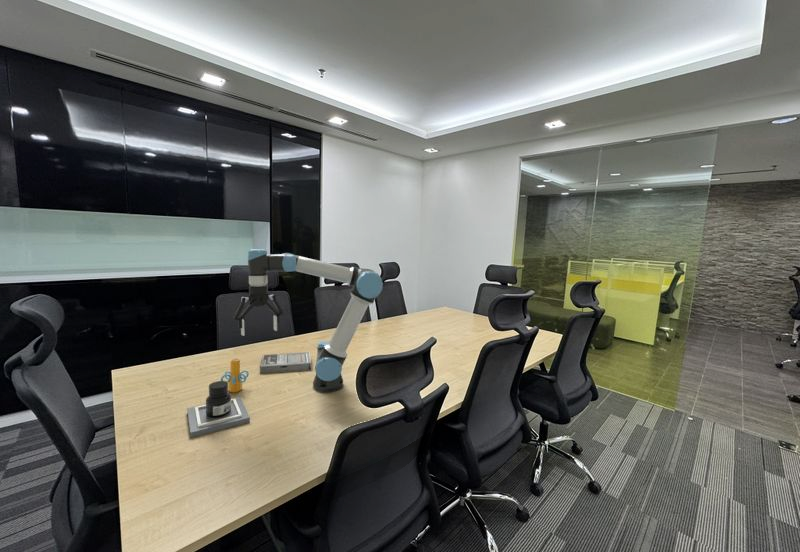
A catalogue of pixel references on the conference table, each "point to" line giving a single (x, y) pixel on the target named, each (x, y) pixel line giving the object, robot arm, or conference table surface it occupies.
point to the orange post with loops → (235, 376)
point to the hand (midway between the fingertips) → (259, 332)
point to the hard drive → (285, 362)
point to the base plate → (205, 424)
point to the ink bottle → (218, 400)
